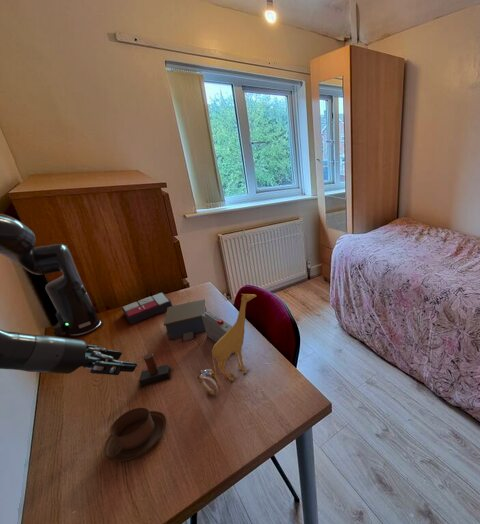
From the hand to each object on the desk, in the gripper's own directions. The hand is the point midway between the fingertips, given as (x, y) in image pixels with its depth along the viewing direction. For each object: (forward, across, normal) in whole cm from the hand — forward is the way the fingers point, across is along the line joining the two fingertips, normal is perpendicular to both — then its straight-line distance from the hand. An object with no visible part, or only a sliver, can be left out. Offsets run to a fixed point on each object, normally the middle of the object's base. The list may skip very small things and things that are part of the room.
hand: (127, 361), depth 77 cm
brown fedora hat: (+2, -16, +13) cm, 21 cm away
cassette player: (+25, -3, -10) cm, 27 cm away
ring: (+14, -19, +1) cm, 24 cm away
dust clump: (+21, +10, -8) cm, 25 cm away
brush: (+11, 0, +4) cm, 11 cm away
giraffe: (+22, -20, -7) cm, 30 cm away
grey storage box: (+25, +15, -10) cm, 31 cm away
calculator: (+23, +40, -8) cm, 47 cm away
